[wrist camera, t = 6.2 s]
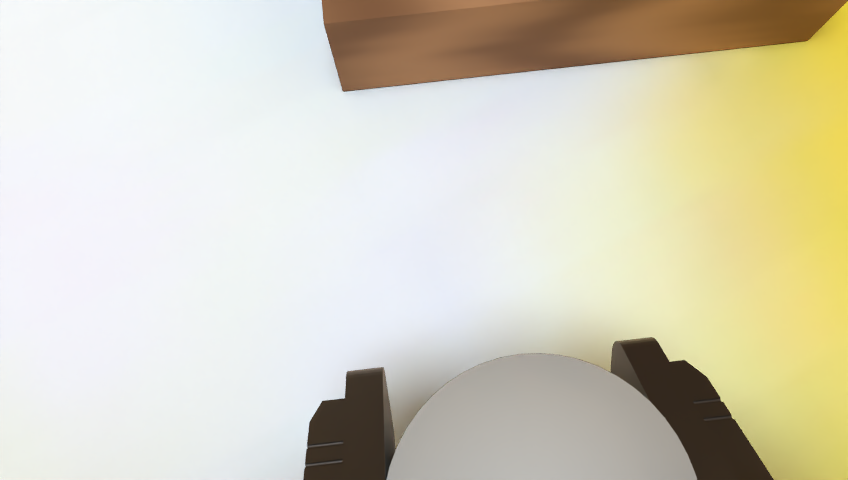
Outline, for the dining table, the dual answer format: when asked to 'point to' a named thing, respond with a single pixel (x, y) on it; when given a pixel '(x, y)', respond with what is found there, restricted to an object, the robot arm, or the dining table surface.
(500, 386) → the domed grey cylinder
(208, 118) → the dining table surface
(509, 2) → the walnut block
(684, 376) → the robot arm
